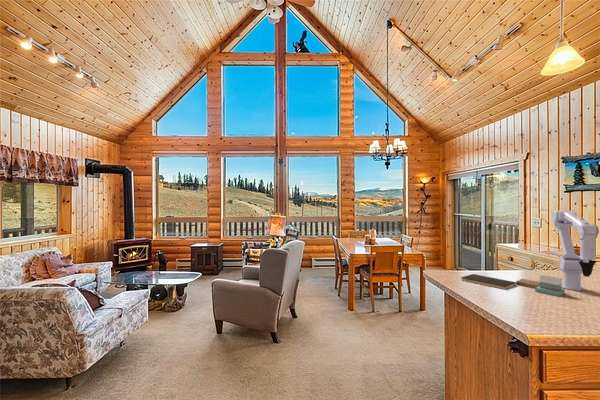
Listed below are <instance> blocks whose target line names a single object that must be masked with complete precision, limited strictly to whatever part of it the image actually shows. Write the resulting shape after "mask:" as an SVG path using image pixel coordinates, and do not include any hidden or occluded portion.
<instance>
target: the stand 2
mask: <svg viewBox="0 0 600 400" xmlns="http://www.w3.org/2000/svg"><path fill="white" fill-rule="evenodd" d="M534 289H535V291H534V292H535V293H540V294H545V295H549V296H556V297H561V296H563V295H564V294H565V292H566V291H565V288H561V290H560V291H555V290H550V289H545V288H540V286H538V287H536V288H534Z"/></svg>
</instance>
